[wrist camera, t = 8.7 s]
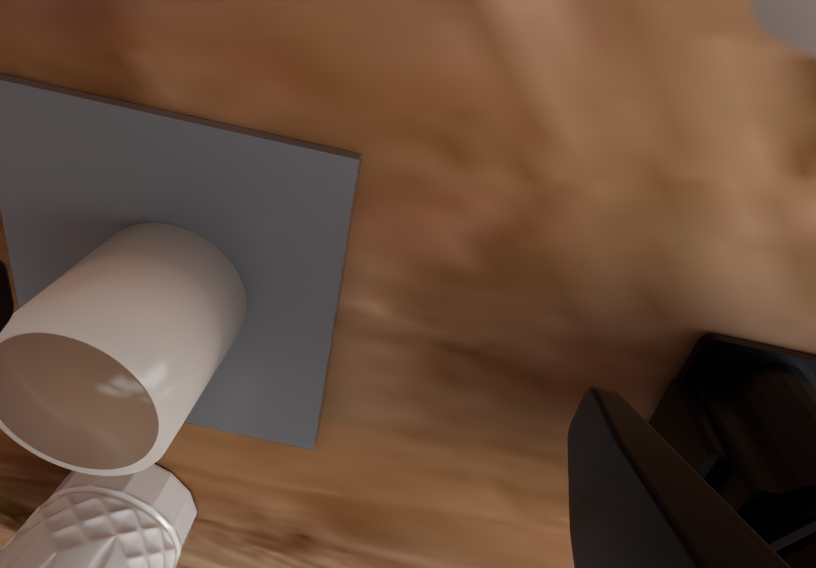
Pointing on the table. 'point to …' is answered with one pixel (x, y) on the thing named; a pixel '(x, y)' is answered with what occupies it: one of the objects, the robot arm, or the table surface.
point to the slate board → (195, 211)
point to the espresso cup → (119, 350)
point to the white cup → (106, 523)
